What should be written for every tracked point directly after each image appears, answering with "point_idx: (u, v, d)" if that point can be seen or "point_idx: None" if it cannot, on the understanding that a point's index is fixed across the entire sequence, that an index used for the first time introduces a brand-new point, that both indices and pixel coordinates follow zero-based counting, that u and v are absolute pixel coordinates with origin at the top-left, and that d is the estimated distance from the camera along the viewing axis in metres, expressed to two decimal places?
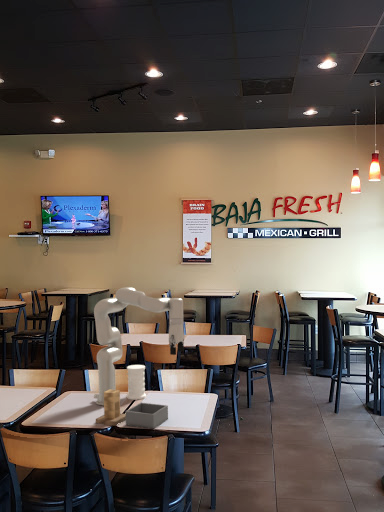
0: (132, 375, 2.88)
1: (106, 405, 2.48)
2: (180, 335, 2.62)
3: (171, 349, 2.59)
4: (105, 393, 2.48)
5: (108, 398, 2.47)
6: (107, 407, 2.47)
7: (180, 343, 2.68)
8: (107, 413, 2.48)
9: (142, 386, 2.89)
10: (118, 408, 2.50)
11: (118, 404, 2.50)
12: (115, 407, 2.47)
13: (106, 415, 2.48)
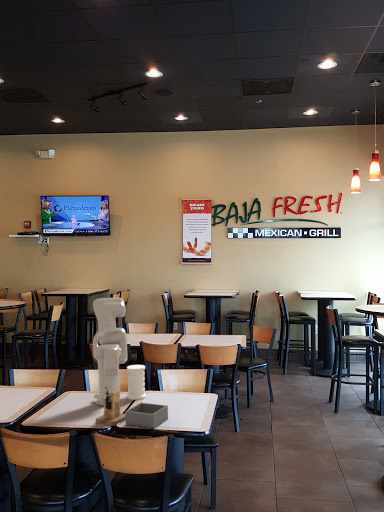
0: (132, 375, 2.88)
1: None
2: (115, 387, 2.48)
3: (106, 403, 2.46)
4: None
5: None
6: None
7: None
8: (107, 413, 2.48)
9: (142, 386, 2.89)
10: (118, 408, 2.50)
11: (118, 404, 2.50)
12: (115, 407, 2.47)
13: (106, 415, 2.48)
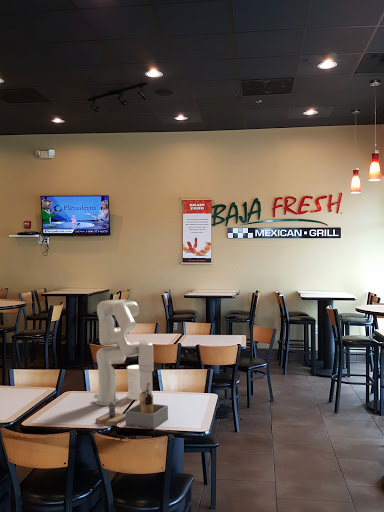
0: (132, 375, 2.88)
1: (144, 408, 2.44)
2: None
3: (148, 399, 2.41)
4: (143, 397, 2.44)
5: None
6: (146, 411, 2.44)
7: (144, 391, 2.51)
8: None
9: None
10: None
11: None
12: None
13: None
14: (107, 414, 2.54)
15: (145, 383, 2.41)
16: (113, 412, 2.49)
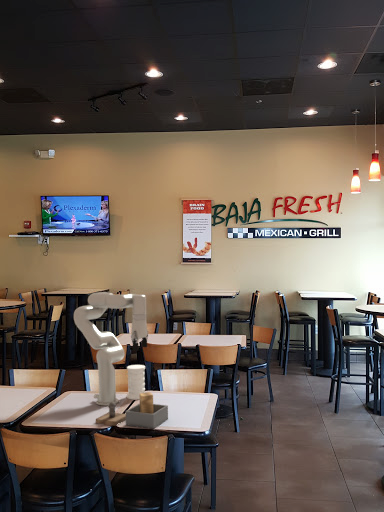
0: (132, 375, 2.88)
1: (144, 408, 2.44)
2: (143, 331, 2.66)
3: (133, 345, 2.62)
4: (143, 397, 2.44)
5: (147, 401, 2.44)
6: (146, 411, 2.44)
7: (144, 339, 2.71)
8: None
9: (142, 386, 2.89)
10: None
11: None
12: None
13: None
14: (107, 414, 2.54)
15: (132, 330, 2.63)
16: (113, 412, 2.49)
